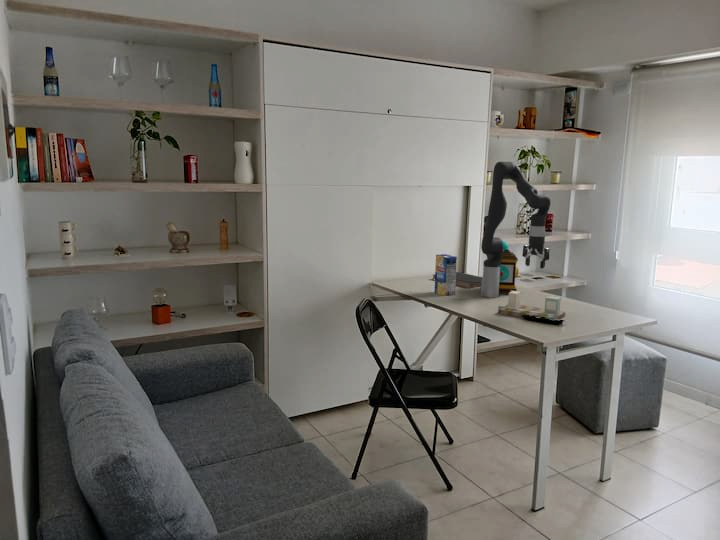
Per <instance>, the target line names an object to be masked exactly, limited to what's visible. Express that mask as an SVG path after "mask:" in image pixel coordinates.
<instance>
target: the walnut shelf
mask: <svg viewBox="0 0 720 540" xmlns="http://www.w3.org/2000/svg"><path fill="white" fill-rule="evenodd" d="M497 309H498V310H497V313H498V314H501V315H506V316H513V317H517V318H523V317H522V316H523V315H529V316H535V317H545V318H550V319H560V320H561V319H562V318H564V317H565V316H566V311H562V310H560V314H559V315H557V316H556V315H553V314H547V313H544V312H545V308H542V307H537V306H536V307H535V306H529V305H522V304H520V308H518V309H516V308H510V307H508V304H506V305H502V306H501V305H498V308H497Z"/></svg>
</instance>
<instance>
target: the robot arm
mask: <svg viewBox="0 0 720 540" xmlns="http://www.w3.org/2000/svg"><path fill="white" fill-rule="evenodd" d="M492 171H493V173H492V185H491V195H490V200H489V205H488V212H487V219H486V223H485V229H484V232H483V237H482V241H481V246H480V247H481V248H480V249H481V252H482V253H483V254H484V255H486V254H491V256H490V257H489V258H488V259H487V258H486V259H485V260H484V261H483V266H482V267H483V270H482V271H483V272H482V277H483V279H481V287H480V297H481V296H482V297H484V298H490V299H491V298H494V297H495V298H498V297H499V295H500V292H499V291H500V290H499V280H500V264H501V262H502V254H503V241H504V240H503V239H501V238H500V237H495V232H496V230H497V228H499V226H500V224H501V223H502V222H503V220H504V219H505V216H506V214H507V206H508V202H507V199H506V197H505V195H504V191H503V183H504V180H511V181H513V182H514V183H515V184H516V185H515V186H516V190H517V192H518V193H519V194H520V195H521V196H522V197H523V198H524V199H525V202H526V203H527V205H528V207H529V208H531V209H533V210H537V212H536V213H533V214H531V216H530V226H529V232H528V244H524V245H523V247H522V248H523V249H522V257H523V258H524V259H525V266H526V267H529V266H530V265H531V257H532V256H536V257H538V258H539V259H540V263H539V264H540V265H539V268H540V269H545V266H546V261H549V260H550V248H549V247H545V241H546V240H545V238H546V221H547V220H546V219H547V216H548V213H549V210H550V207H551V198H550V196H549V195H548V194H538V189H537V188H536V187H535V186H534V185H533V184H531V182H529V180H527V178H526V177H525V176H524V175H523V173H522V172H521V170H520V169H519V167H518V166H517V165H516V164H515V162H512V161H498V162H496V163H495V164H494V167H493V170H492Z"/></svg>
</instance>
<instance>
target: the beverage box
mask: <svg viewBox="0 0 720 540" xmlns="http://www.w3.org/2000/svg"><path fill="white" fill-rule="evenodd" d="M457 262H458V257H457V256H454V255H450V254H447V253H445V254H443V253H442V254H436V255H435V269H434V270H435V271H434V272H435V273H434V274H435V280H434V293H436V294H439V295H442V296H443V297H451V296H456V286H457V285H456V272H457V267H458V266H457V264H458V263H457Z"/></svg>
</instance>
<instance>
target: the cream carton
mask: <svg viewBox="0 0 720 540" xmlns="http://www.w3.org/2000/svg"><path fill="white" fill-rule="evenodd" d="M521 299H522V291H518V290H517V291H513V290H511V291H510V292H508V299H507V300H508V301H507V302H508V304H507V305H508V307H510V308H516V309H518V308H520V305H521V301H522V300H521Z"/></svg>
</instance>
